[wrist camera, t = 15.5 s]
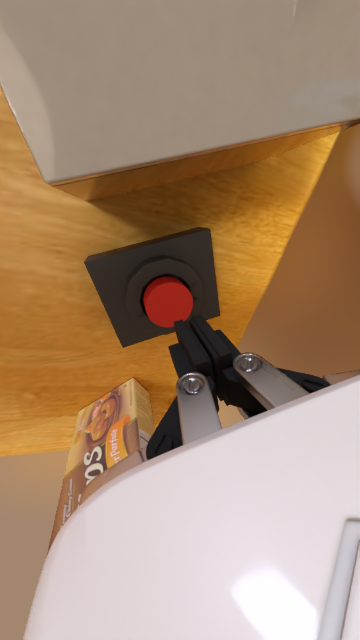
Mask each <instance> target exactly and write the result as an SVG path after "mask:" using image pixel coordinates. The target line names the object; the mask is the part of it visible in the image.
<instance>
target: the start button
mask: <svg viewBox="0 0 360 640" xmlns="http://www.w3.org/2000/svg"><path fill="white" fill-rule="evenodd" d="M143 301H144V306H145V309H146V313H147V315H148V317H149V319H150V320H151V321H152V322H153V323H155V324H156V325H159V326H162V327H173V326H174V322H175V321H178V320H183V321H185V320H186V319H187V318H188V316H189V315H190V313H191V311H192V308H193V298H192V295H191V293H190V291H189V290H188V289H187V288H186V286H185V285H184V284H183V283H182V282H181V281H179V280H178V279H176V278H173V277H161V278H158V279H156V280H154V281H153V282H151V283H150V284H149V285H148V287H147V288H146V290H145V293H144V297H143Z"/></svg>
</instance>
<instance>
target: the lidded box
mask: <svg viewBox="0 0 360 640" xmlns="http://www.w3.org/2000/svg"><path fill="white" fill-rule="evenodd" d="M359 123H360V121H358V122H353V123H348V124H343V125H339V126H334V127H329V128H325V129H320V130H315V131H310V132H306V133H301V134H296V135H292V136H287V137H282V138H277V139H273V140H268V141H263V142H258V143H254V144H249V145H244V146H240V147H235V148H230V149H225V150H221V151H216V152H211V153H207V154H202V155H197V156H192V157H188V158H183V159H178V160H174V161H169V162H164V163H159V164H155V165H150V166H145V167H140V168H136V169H131V170H126V171H122V172H117V173H112V174H107V175H103V176H98V177H93V178H89V179H84V180H79V181H74V182H70V183H65V184H60V185H55V186H52V187H54V188H56V189H59V190H61V191H63V192H66V193H68V194H70V195H73V196H75V197H77V198H80V199H82V200H85V201H90V200H94V199H99V198H103V197H108V196H112V195H116V194H121V193H125V192H130V191H134V190H138V189H143V188H147V187H152V186H156V185H161V184H165V183H169V182H174V181H178V180H183V179H187V178H191V177H196V176H200V175H205V174H209V173H213V172H218V171H222V170H227V169H231V168H235V167H240V166H244V165H249V164H253V163H257V162H260V161H262V160H265V159H268V158H270V157H273V156H276V155H278V154H281V153H283V152H286V151H289V150H291V149H294V148H297V147H299V146H302V145H305V144H307V143H310V142H312V141H315V140H318V139H320V138H323V137H326V136H328V135H331V134H334V133H336V132H339V131H341V130H344V129H347V128H349V127H352V126H354V125H357V124H359Z"/></svg>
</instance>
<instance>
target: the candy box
mask: <svg viewBox="0 0 360 640" xmlns="http://www.w3.org/2000/svg"><path fill="white" fill-rule="evenodd" d="M154 431H155V426H154V420H153V414H152V408H151V401H150V395H149V393H148V392H147V391H146V390H145V389H144V388H143V387H142V386H141V385H140V384H139V383H138V382H137V381H136V380H135V379H134V378H132V379H130V380H129V381H127V382H125V383H123V384H122V385H120V386H119V387H117V388H116V389H114V390H113V391H111V392H109V393H107V394H106V395H104V396H103V397H101V398H100V399H98V400H96V401H95V402H93V403H91V404H90V405H88V406H87V407H85V408H83V409H82V410H80V411H79V412H78V416H77V420H76V425H75V429H74V434H73V439H72V443H71V448H70V452H69V457H68V462H67V466H66V470H65V475H64V479H63V485H62V489H61V493H60V498H59V502H58V507H57V511H56V516H55V521H54V526H53V530H52V535H51V539H50V543H49V548H48V553H49V550H50V548H51V545H52V543H53V541H54V539H55V537H56V535H57V534H58V532H59V531H60V529H61V527H62V526H63V525H64V523H65V522H66V521H67V519H68V518H69V517H70V516H71V515H72V514H73V513H74V511H75V510H76V509H77V508H78V507H79V502H80V497H81V495H82V492H83V490H84V489H85V487H86V486H87V484H88V483H89V482H90V481H91V480H92V479H94V478H95V477H96V476H98V475H99V474H101V473H102V472H104V471H105V470H107V469H108V468H110V467H111V466H113V465H114V464H116V463H117V462H119V461H120V460H122V459H123V458H125V457H126V456H128V455H129V454H131V453H132V452H134V451H135V450H137V449H139V450H141V449H143V448H144V447H146V446H147V444H148V442H149V440H150V438H151V436H152V435H153V433H154ZM48 553H47V555H48ZM46 558H47V557H46Z"/></svg>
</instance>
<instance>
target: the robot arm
mask: <svg viewBox="0 0 360 640" xmlns="http://www.w3.org/2000/svg"><path fill="white" fill-rule="evenodd" d="M189 325H190V326H189ZM174 327H175V331H176V335H177V338H178V342H179V343H177V344H174V345H171V346H168V347H169V351H170V354H171V357H172V361H173V364H174V367H175V369H176V372H177V375H178V378H179V379H178V381H177V383H176V392H177V396H176V398H175V399H174V401H173V403H172V404H171V406H170V407H169V409H168V411H167V412H166V414H165V415H164V417H163V419H162V420H161V422H160V423H159V425H158V427H157V428H156V430H155V431H154V433H153V435H152V436H151V438H150V440H149V442H148V444H147V446H146V447H144V448H143V449H141V450H139V449H137V450H135V451H134V452H132V453H131V454H129V455H128V456H126V457H125V458H123V459H122V460H120V461H119V462H117V463H116V464H114V465H113V466H111V467H110V468H108V469H107V470H105V471H104V472H102V473H101V474H99V475H98V476H96V477H95V478H94V479H92V480H91V481H90V482H89V483H88V484H87V486H86V487H85V489H84V490H83V492H82V495H81V497H80V502H79V507H78V508H77V509H76V510H75V511H74V513H73V514H72V515H71V516H70V517H69V518H68V519H67V521H66V522H65V523H64V525H63V526H62V527H61V529H60V531H59V532H58V534H57V535H56V537H55V539H54V541H53V543H52V545H51V548H50V550H49V553H48V555H47V558H46V561H45V563H44V566H43V569H42V572H41V576H40V579H39V582H38V585H37V589H36V593H35V596H34V600H33V603H32V607H31V611H30V615H29V619H28V622H27V626H26V630H25V634H24V638H23V640H360V370H356V371H350V372H343V373H336V374H330V375H323V377H322V378H320V377H317V376H313V375H309V374H304V373H299V372H294V371H290V370H285V369H280V368H276V367H274V366H273V365H272V364H270V363H269V362H268V361H266V360H265V359H263V358H262V357H261V356H259V355H257V354H254V353H242V354H241V353H240V352H239V351H238V349H237V348H236V347H235V346H234V345H233V344H232V343H231V341H230V340H229V339H228V338H227V337H226V336H225V335H224V333H223V332H222V331H221V330H216V331H214V330H213V329H212V328H211V326H210V325H209V324H208V323H207V322H206V320H205V319H204V318H203V317H202V315H201V314H197V315H194V316H191V319H189V324H188V322H187V321H183V320H178V321H175V322H174ZM217 396H218V398H219V400H220V401H222V400H224V402H225V403H226V405H227V406H228V405H230V404H231V405H233V406H236V407H237V408H238V411H239V412H240V414H241V415H242V416H243V417H244V418H245V420H244V421H241V422H239V423H236V424H234V425H231V426H229V427H226V428H224V429H222V426H221V423H220V420H219V416H218V411H219V406H218V399H217Z"/></svg>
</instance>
